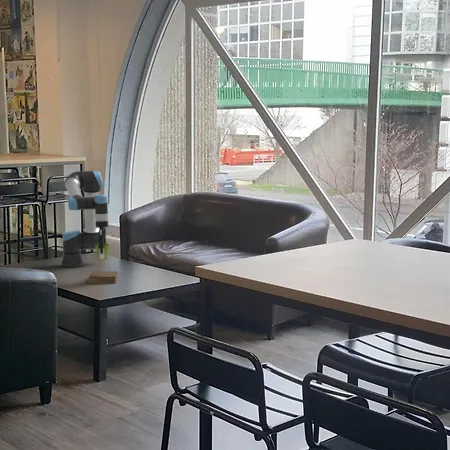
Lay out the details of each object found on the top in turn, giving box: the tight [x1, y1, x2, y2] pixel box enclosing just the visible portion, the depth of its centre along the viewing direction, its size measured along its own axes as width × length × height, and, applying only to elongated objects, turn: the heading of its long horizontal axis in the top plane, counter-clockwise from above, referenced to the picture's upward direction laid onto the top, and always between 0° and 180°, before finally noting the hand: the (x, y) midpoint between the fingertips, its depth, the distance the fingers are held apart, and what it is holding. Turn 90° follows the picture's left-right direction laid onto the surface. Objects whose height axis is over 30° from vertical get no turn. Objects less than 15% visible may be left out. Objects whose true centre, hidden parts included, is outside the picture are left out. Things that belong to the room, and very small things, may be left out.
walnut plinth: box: [88, 270, 119, 285], centre depth 428 cm, size 16×16×4 cm
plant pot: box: [95, 243, 111, 261], centre depth 426 cm, size 9×9×9 cm
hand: (103, 257), depth 426 cm, fingers closed on plant pot, 9 cm apart
